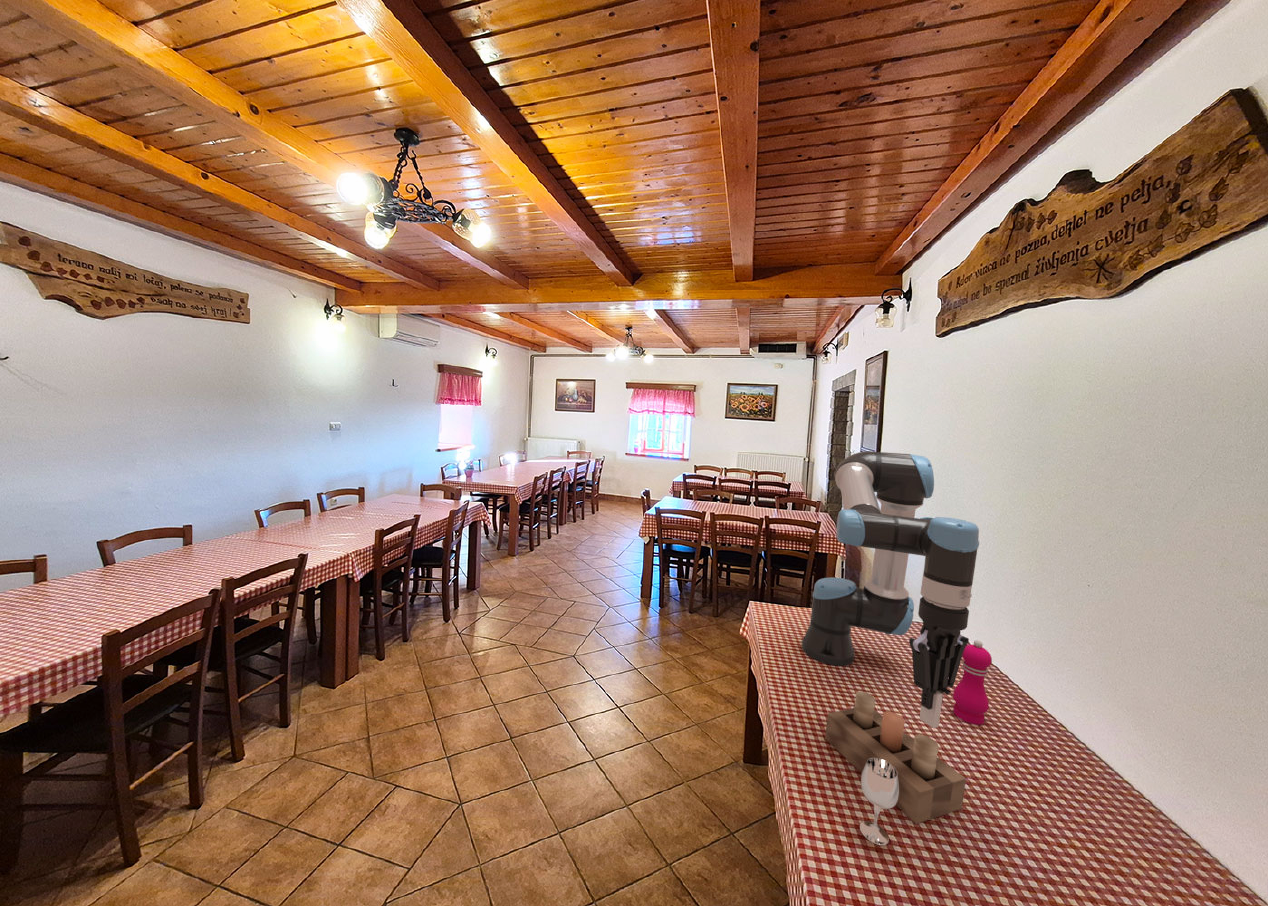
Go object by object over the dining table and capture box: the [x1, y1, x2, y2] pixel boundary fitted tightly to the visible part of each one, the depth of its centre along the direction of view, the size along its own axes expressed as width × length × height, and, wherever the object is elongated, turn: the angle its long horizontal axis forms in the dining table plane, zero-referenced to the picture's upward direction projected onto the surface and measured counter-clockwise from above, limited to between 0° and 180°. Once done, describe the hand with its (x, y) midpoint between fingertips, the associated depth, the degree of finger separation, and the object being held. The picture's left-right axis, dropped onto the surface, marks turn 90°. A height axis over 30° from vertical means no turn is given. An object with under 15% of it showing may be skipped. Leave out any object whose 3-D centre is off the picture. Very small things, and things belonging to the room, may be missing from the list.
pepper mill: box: [952, 639, 993, 726], centre depth 111 cm, size 7×7×20 cm
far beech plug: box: [853, 691, 876, 729], centre depth 98 cm, size 4×4×6 cm
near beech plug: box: [911, 734, 939, 779], centre depth 85 cm, size 4×4×6 cm
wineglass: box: [859, 758, 899, 846], centre depth 77 cm, size 6×6×12 cm
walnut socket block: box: [824, 707, 967, 825], centre depth 92 cm, size 22×12×6 cm, turn 20°
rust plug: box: [880, 711, 906, 752], centre depth 91 cm, size 4×4×6 cm
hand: (928, 722), depth 84 cm, fingers closed
